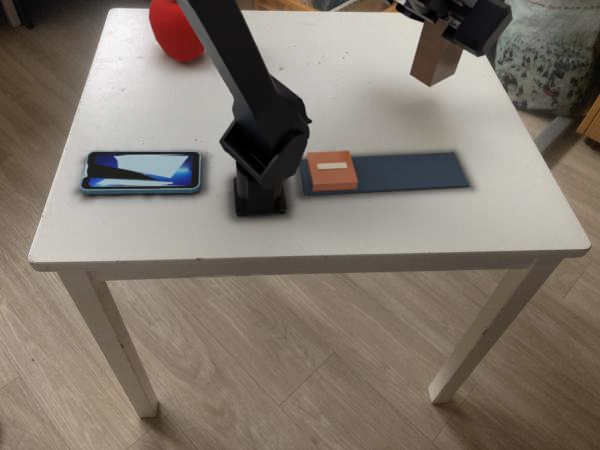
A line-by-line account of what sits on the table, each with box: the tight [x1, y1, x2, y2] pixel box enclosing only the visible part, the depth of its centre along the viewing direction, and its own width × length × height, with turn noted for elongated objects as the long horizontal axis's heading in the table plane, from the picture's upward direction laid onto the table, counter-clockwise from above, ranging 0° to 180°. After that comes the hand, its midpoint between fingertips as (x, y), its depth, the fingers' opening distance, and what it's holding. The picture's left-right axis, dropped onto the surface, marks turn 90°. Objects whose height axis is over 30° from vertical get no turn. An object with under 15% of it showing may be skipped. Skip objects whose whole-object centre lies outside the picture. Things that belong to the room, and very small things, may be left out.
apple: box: [148, 0, 206, 64], centre depth 78 cm, size 10×10×11 cm
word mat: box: [299, 151, 470, 197], centre depth 68 cm, size 23×7×1 cm, turn 98°
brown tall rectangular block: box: [409, 3, 464, 88], centre depth 69 cm, size 6×4×12 cm, turn 130°
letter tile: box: [305, 150, 358, 192], centre depth 66 cm, size 6×6×2 cm
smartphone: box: [79, 150, 203, 195], centre depth 64 cm, size 7×1×15 cm
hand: (451, 31), depth 69 cm, fingers closed on brown tall rectangular block, 4 cm apart
